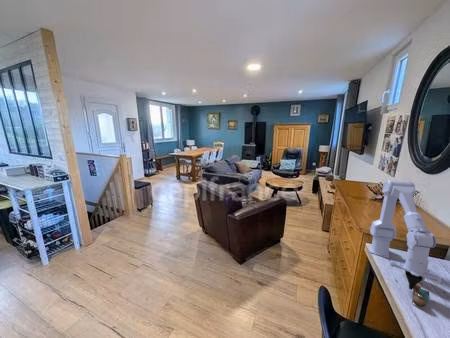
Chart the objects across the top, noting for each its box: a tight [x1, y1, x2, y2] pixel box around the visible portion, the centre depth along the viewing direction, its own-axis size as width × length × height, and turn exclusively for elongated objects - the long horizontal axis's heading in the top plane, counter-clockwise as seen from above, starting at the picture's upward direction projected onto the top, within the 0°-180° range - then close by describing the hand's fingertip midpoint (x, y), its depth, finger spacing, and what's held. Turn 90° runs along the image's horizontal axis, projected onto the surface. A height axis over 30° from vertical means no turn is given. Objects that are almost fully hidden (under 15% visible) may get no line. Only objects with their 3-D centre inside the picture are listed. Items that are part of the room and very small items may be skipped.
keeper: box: [419, 288, 430, 304], centre depth 72 cm, size 1×3×4 cm, turn 48°
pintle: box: [411, 294, 426, 310], centre depth 71 cm, size 4×4×4 cm
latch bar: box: [412, 283, 427, 308], centre depth 74 cm, size 12×3×3 cm, turn 139°
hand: (410, 288), depth 77 cm, fingers closed
